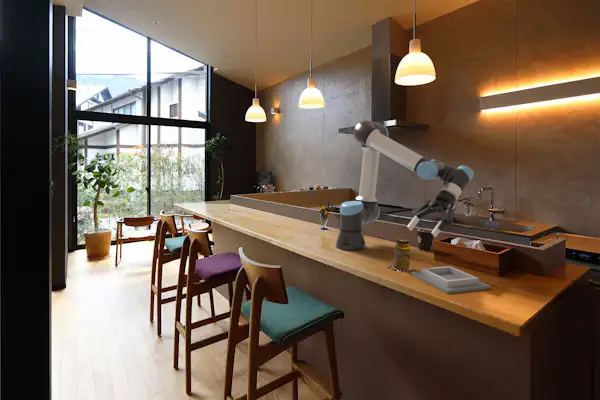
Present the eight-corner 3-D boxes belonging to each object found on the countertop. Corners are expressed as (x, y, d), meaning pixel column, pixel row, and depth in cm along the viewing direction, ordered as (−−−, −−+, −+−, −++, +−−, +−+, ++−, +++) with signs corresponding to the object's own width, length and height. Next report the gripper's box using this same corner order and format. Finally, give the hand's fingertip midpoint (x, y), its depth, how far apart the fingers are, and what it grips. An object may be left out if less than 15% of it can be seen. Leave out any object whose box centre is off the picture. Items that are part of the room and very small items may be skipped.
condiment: (413, 269, 136) (415, 241, 135) (397, 272, 133) (398, 242, 131) (401, 264, 143) (403, 237, 141) (385, 266, 139) (387, 238, 138)
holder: (411, 274, 130) (411, 266, 130) (449, 270, 135) (449, 263, 135) (447, 293, 111) (447, 284, 111) (489, 288, 116) (490, 280, 116)
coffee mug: (435, 252, 164) (436, 232, 163) (417, 251, 166) (418, 231, 164) (431, 246, 175) (432, 228, 174) (414, 245, 177) (415, 227, 176)
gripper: (477, 204, 135) (449, 243, 130) (430, 198, 158) (404, 231, 153) (469, 191, 132) (440, 231, 128) (422, 187, 155) (395, 221, 150)
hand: (420, 231), depth 140 cm, fingers open, 13 cm apart
